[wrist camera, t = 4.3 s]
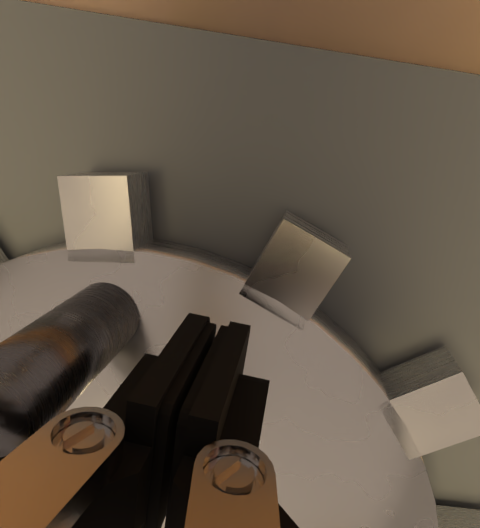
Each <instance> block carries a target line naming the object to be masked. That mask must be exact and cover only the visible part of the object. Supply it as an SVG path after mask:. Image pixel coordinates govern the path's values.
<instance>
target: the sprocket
mask: <svg viewBox="0 0 480 528" xmlns="http://www.w3.org/2000/svg"><path fill="white" fill-rule="evenodd" d="M57 179H58V187H59V194H60V201H61V209H62V216H63V224H64V231H65V239H66V243H61V244H56V245H51V246H47V247H44V248H41V249H39V250H36V251H33V252H30V253H27V254H24V255H22V256H19V257H16V258H14V259H11V260H9V259H8V258H7V257H6V255H5V254H4V252H3V251H2V250H1V248H0V458H1V457H5V456H7V455H8V454H10V453H11V452H12V451H13V450H15V449H16V448H17V447H18V446H19V445H21V444H22V443H23V442H24V441H25V440H27V439H28V438H29V437H30V436H32V435H33V434H34V433H35V432H36V431H38V430H39V429H40V428H41V427H43V426H44V425H45V424H46V423H47V422H49V421H50V420H51V419H53V418H54V417H56V416H57V415H59V414H60V413H62V412H65V411H68V410H71V409H74V408H80V407H100V408H103V407H104V406H105V405H106V403H107V402H108V401H109V399H110V398H111V397H112V396H113V394H114V393H115V392H116V390H117V389H118V388H119V387H120V385H121V384H122V383H123V381H124V380H125V379H126V378H127V376H128V375H129V374H130V372H131V371H132V370H133V369H134V367H135V366H136V365H137V363H138V362H139V361H140V360H141V358H142V357H143V356H144V355H145V354H152V355H156V356H159V354H160V353H161V351H162V350H163V349H164V347H165V346H166V344H167V343H168V342H169V340H170V339H171V337H172V336H173V334H174V333H175V332H176V330H177V329H178V327H179V326H180V325H181V323H182V322H183V320H184V319H185V318H186V316H187V315H188V314H189V313H193V314H198V315H202V316H207V317H210V323H214V324H216V334H215V337H216V335H217V333H218V330H219V328H220V326H221V325H224V326H228V325H229V323H230V321H232V322H237V323H242V324H246V325H251V328H250V335H249V341H248V347H247V353H246V359H245V364H244V370H243V375H248V376H252V377H257V378H262V379H266V380H270V383H269V389H268V395H267V400H266V406H265V412H264V418H263V424H262V430H261V436H260V442H259V449H260V450H261V451H263V452H264V453H265V454H266V455H267V456H268V458H269V459H270V461H271V462H272V463H273V466H274V470H275V473H276V484H277V495H278V503H279V505H280V506H281V507H282V508H283V509H284V510H285V512H286V513H287V514H288V515H289V516H290V517H291V519H292V520H293V521H294V522H295V523H296V524H297V526H298V527H299V528H480V510H476V509H467V508H458V507H449V506H440V505H436V503H435V499H434V495H433V492H432V488H431V485H430V482H429V478H428V475H427V471H426V468H425V465H424V462H423V459H422V456H423V455H426V454H429V453H432V452H434V451H437V450H440V449H443V448H446V447H449V446H452V445H455V444H458V443H461V442H464V441H466V440H469V439H472V438H475V437H478V436H480V404H479V402H478V400H477V398H476V396H475V394H474V392H473V391H472V389H471V387H470V385H469V383H468V381H467V379H466V377H465V375H464V373H463V372H462V370H461V369H460V367H459V366H458V364H457V363H456V361H455V360H454V358H453V357H452V355H451V354H450V352H449V351H448V349H447V348H446V346H444V347H441V348H439V349H436V350H434V351H431V352H429V353H426V354H424V355H422V356H419V357H417V358H414V359H412V360H409V361H407V362H405V363H402V364H400V365H397V366H395V367H392V368H390V369H388V370H385V371H383V372H380V371H379V370H378V368H377V367H376V365H375V364H374V363H373V362H372V361H371V360H370V358H369V357H368V356H367V355H366V354H365V353H364V352H363V350H362V349H361V348H360V347H359V346H358V345H357V344H356V342H355V341H354V340H353V339H352V338H351V337H350V336H349V335H348V334H347V333H346V332H345V331H344V330H343V329H342V328H340V327H339V326H338V325H337V324H336V323H335V322H334V321H332V320H331V319H330V318H329V317H328V316H327V315H326V314H324V313H323V312H322V311H321V310H320V309H319V308H318V306H319V305H320V303H321V302H322V301H323V299H324V298H325V296H326V295H327V293H328V292H329V290H330V289H331V287H332V286H333V284H334V283H335V282H336V280H337V279H338V277H339V276H340V274H341V273H342V271H343V270H344V268H345V267H346V265H347V264H348V263H349V261H350V260H351V256H350V254H349V251H348V248H347V245H346V244H344V243H342V242H341V241H339V240H337V239H335V238H334V237H332V236H330V235H329V234H327V233H325V232H324V231H322V230H320V229H318V228H317V227H315V226H313V225H312V224H310V223H308V222H306V221H305V220H303V219H301V218H300V217H298V216H296V215H294V214H293V213H291V212H289V211H288V210H286V212H285V214H284V215H283V217H282V219H281V221H280V222H279V224H278V226H277V227H276V229H275V231H274V232H273V234H272V236H271V237H270V239H269V241H268V242H267V244H266V246H265V247H264V249H263V251H262V252H261V254H260V256H259V257H258V259H257V261H256V262H255V264H254V266H253V267H252V268H251V267H249V266H247V265H245V264H242V263H240V262H237V261H234V260H231V259H228V258H226V257H223V256H220V255H217V254H214V253H212V252H209V251H206V250H203V249H199V248H194V247H190V246H185V245H180V244H176V243H171V242H167V241H162V240H153V235H152V222H151V209H150V196H149V182H148V172H84V173H76V174H69V175H61V176H57ZM165 519H166V517H165ZM165 519H164V522H163V524H162V527H161V528H165Z"/></svg>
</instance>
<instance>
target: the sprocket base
mask: <svg viewBox="0 0 480 528" xmlns="http://www.w3.org/2000/svg"><path fill="white" fill-rule="evenodd" d="M84 172H148V182H149V196H150V209H151V222H152V235H153V240H162V241H167V242H171V243H176V244H180V245H185V246H190V247H194V248H199V249H203V250H206V251H209V252H212V253H214V254H217V255H220V256H223V257H226V258H228V259H231V260H234V261H237V262H240V263H242V264H245V265H247V266H249V267H251V268H252V267H253V266H254V264H255V262H256V261H257V259H258V257H259V256H260V254H261V252H262V251H263V249H264V247H265V246H266V244H267V242H268V241H269V239H270V237H271V236H272V234H273V232H274V231H275V229H276V227H277V226H278V224H279V222H280V221H281V219H282V217H283V215H284V214H285V212H286V210H288V211H289V212H291V213H293V214H294V215H296V216H298V217H300V218H301V219H303V220H305V221H306V222H308V223H310V224H312V225H313V226H315V227H317V228H318V229H320V230H322V231H324V232H325V233H327V234H329V235H330V236H332V237H334V238H335V239H337V240H339V241H341V242H342V243H344V244H346V245H347V248H348V251H349V254H350V256H351V260H350V261H349V263H348V264H347V265H346V267H345V268H344V270H343V271H342V273H341V274H340V276H339V277H338V279H337V280H336V282H335V283H334V284H333V286H332V287H331V289H330V290H329V292H328V293H327V295H326V296H325V298H324V299H323V301H322V302H321V303H320V305H319V306H318V308H319V309H320V310H321V311H322V312H323V313H324V314H326V315H327V316H328V317H329V318H330V319H331V320H332V321H334V322H335V323H336V324H337V325H338V326H339V327H340V328H342V329H343V330H344V331H345V332H346V333H347V334H348V335H349V336H350V337H351V338H352V339H353V340H354V341H355V342H356V344H357V345H358V346H359V347H360V348H361V349H362V350H363V352H364V353H365V354H366V355H367V356H368V357H369V358H370V360H371V361H372V362H373V363H374V364H375V365H376V367H377V368H378V370H379V371H380V372H383V371H385V370H388V369H390V368H392V367H395V366H397V365H400V364H402V363H405V362H407V361H409V360H412V359H414V358H417V357H419V356H422V355H424V354H426V353H429V352H431V351H434V350H436V349H439V348H441V347H444V346H446V348H447V349H448V351H449V352H450V354H451V355H452V357H453V358H454V360H455V361H456V363H457V364H458V366H459V367H460V369H461V370H462V372H463V373H464V375H465V377H466V379H467V381H468V383H469V385H470V387H471V389H472V391H473V392H474V394H475V396H476V398H477V400H478V402H479V404H480V75H478V74H472V73H466V72H460V71H454V70H447V69H441V68H435V67H429V66H423V65H417V64H410V63H404V62H398V61H392V60H386V59H380V58H373V57H367V56H361V55H355V54H349V53H342V52H336V51H330V50H324V49H318V48H312V47H305V46H299V45H293V44H287V43H281V42H274V41H268V40H262V39H256V38H250V37H244V36H237V35H231V34H225V33H219V32H213V31H207V30H200V29H194V28H188V27H182V26H176V25H169V24H163V23H157V22H151V21H145V20H139V19H132V18H126V17H120V16H114V15H108V14H102V13H95V12H89V11H83V10H77V9H71V8H64V7H58V6H52V5H46V4H40V3H34V2H27V1H21V0H0V248H1V250H2V251H3V252H4V254H5V255H6V257H7V258H8V259H9V260H11V259H14V258H16V257H19V256H22V255H24V254H27V253H30V252H33V251H36V250H39V249H41V248H44V247H47V246H51V245H56V244H61V243H66V239H65V231H64V224H63V216H62V209H61V201H60V194H59V187H58V179H57V176H61V175H69V174H76V173H84ZM422 459H423V462H424V465H425V468H426V471H427V475H428V478H429V482H430V485H431V488H432V492H433V495H434V499H435V503H436V505H440V506H449V507H458V508H467V509H476V510H480V436H478V437H475V438H472V439H469V440H466V441H464V442H461V443H458V444H455V445H452V446H449V447H446V448H443V449H440V450H437V451H434V452H432V453H429V454H426V455H423V456H422Z"/></svg>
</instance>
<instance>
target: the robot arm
mask: <svg viewBox="0 0 480 528" xmlns="http://www.w3.org/2000/svg"><path fill="white" fill-rule="evenodd" d="M250 328H251V325H246V324H242V323H237V322H232V321H230V323H229V325H228V326H224V325H221V326H220V328H219V330H218V333H217V335H216V337H215V334H216V324H214V323H210V317H207V316H202V315H198V314H193V313H189V314H188V315H187V316H186V318H185V319H184V320H183V322H182V323H181V325H180V326H179V327H178V329H177V330H176V332H175V333H174V334H173V336H172V337H171V339H170V340H169V342H168V343H167V344H166V346H165V347H164V349H163V350H162V351H161V353H160V354H159V356H156V355H152V354H145V355H144V356H143V357H142V358H141V360H140V361H139V362H138V363H137V365H136V366H135V367H134V369H133V370H132V371H131V372H130V374H129V375H128V376H127V378H126V379H125V380H124V381H123V383H122V384H121V385H120V387H119V388H118V389H117V390H116V392H115V393H114V394H113V396H112V397H111V398H110V399H109V401H108V402H107V403H106V405H105V406H104V407H103V408H100V407H80V408H74V409H71V410H68V411H65V412H62V413H60V414H59V415H57V416H56V417H54V418H53V419H51V420H50V421H49V422H47V423H46V424H45V425H44V426H43V427H41V428H40V429H39V430H38V431H36V432H35V433H34V434H33V435H32V436H30V437H29V438H28V439H27V440H25V441H24V442H23V443H22V444H21V445H19V446H18V447H17V448H16V449H15V450H13V451H12V452H11V453H10V454H8V455H7V456H5V457H1V458H0V528H161V527H162V524H163V522H164V519H165V517H166V519H165V528H299V527H298V526H297V524H296V523H295V522H294V521H293V520H292V519H291V517H290V516H289V515H288V514H287V513H286V512H285V510H284V509H283V508H282V507H281V506H280V505H279V503H278V495H277V484H276V473H275V470H274V466H273V463H272V462H271V461H270V459H269V458H268V456H267V455H266V454H265V453H264V452H263V451H261V450H260V449H259V442H260V436H261V430H262V424H263V418H264V412H265V406H266V400H267V395H268V389H269V383H270V380H266V379H262V378H257V377H252V376H248V375H243V370H244V364H245V359H246V353H247V347H248V341H249V335H250Z"/></svg>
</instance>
